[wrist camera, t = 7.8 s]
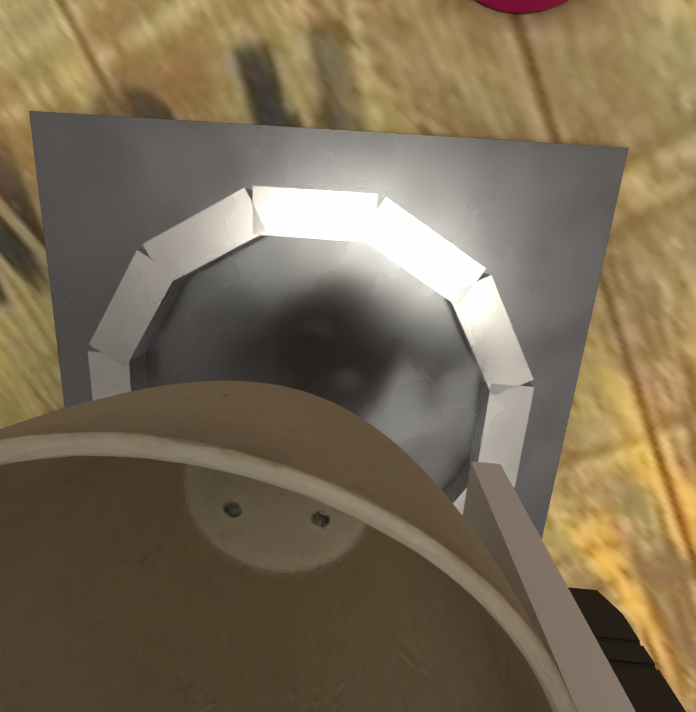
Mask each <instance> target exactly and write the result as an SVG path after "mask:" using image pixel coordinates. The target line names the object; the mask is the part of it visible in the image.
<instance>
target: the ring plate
mask: <svg viewBox="0 0 696 712" xmlns="http://www.w3.org/2000/svg"><path fill="white" fill-rule="evenodd" d="M29 113H30V122H31V130H32V138H33V147H34V155H35V163H36V171H37V180H38V188H39V196H40V205H41V213H42V221H43V230H44V238H45V246H46V255H47V263H48V271H49V280H50V288H51V296H52V305H53V313H54V321H55V329H56V338H57V346H58V354H59V363H60V371H61V379H62V388H63V396H64V404H65V408H68V407H71V406H74V405H77V404H81V403H85V402H89V401H93V400H97V399H101V398H105V397H109V396H113V395H118V394H122V393H127V392H131V391H136V390H141V389H146V388H152V387H158V386H164V385H173V384H182V383H192V382H203V381H248V382H258V383H266V384H274V385H280V386H285V387H289V388H293V389H297V390H301V391H304V392H307V393H310V394H313V395H316V396H318V397H321V398H323V399H326V400H328V401H331V402H333V403H335V404H337V405H339V406H341V407H343V408H345V409H347V410H349V411H351V412H352V413H354V414H356V415H357V416H359V417H360V418H362V419H364V420H365V421H367V422H368V423H370V424H371V425H373V426H374V427H375V428H377V429H378V430H380V431H381V432H382V433H384V434H385V435H386V436H387V437H389V438H390V439H391V440H392V441H393V442H395V443H396V444H397V445H398V446H399V447H400V448H402V449H403V450H404V451H405V452H406V453H407V454H408V455H409V456H410V457H411V458H412V459H413V460H414V461H415V462H416V463H417V464H418V465H419V466H420V467H421V468H422V469H423V470H424V471H425V472H426V473H427V474H428V475H429V476H430V477H431V478H432V479H433V480H434V481H435V483H436V484H437V485H438V486H439V487H440V489H441V490H442V491H443V492H444V493H445V495H446V496H447V497H448V498H449V499H450V501H451V502H452V503H453V504H454V506H455V507H456V508H457V509H458V511H459V512H460V513H461V515H463V509H464V503H465V496H466V490H467V484H468V478H469V471H470V465H471V461H472V462H484V463H495V464H501V466H502V468H503V470H504V471H505V473H506V475H507V477H508V479H509V481H510V482H511V484H512V486H513V488H514V490H515V492H516V493H517V495H518V497H519V499H520V501H521V503H522V504H523V506H524V508H525V510H526V512H527V514H528V515H529V517H530V519H531V521H532V523H533V525H534V526H535V528H536V530H537V532H538V534H539V535H540V537H541V539H542V535H543V531H544V526H545V522H546V517H547V513H548V508H549V504H550V499H551V495H552V490H553V486H554V481H555V477H556V472H557V468H558V463H559V459H560V454H561V450H562V445H563V441H564V436H565V432H566V427H567V423H568V418H569V414H570V409H571V405H572V400H573V396H574V391H575V387H576V382H577V378H578V373H579V369H580V364H581V360H582V355H583V351H584V346H585V342H586V337H587V333H588V328H589V324H590V319H591V315H592V310H593V306H594V301H595V297H596V292H597V288H598V283H599V279H600V274H601V270H602V265H603V261H604V256H605V252H606V247H607V243H608V238H609V234H610V229H611V225H612V220H613V216H614V211H615V207H616V202H617V198H618V193H619V189H620V184H621V180H622V175H623V171H624V166H625V162H626V157H627V153H628V148H624V147H608V146H591V145H575V144H559V143H543V142H526V141H510V140H494V139H478V138H461V137H445V136H429V135H413V134H396V133H380V132H364V131H347V130H331V129H315V128H299V127H282V126H266V125H250V124H234V123H217V122H201V121H185V120H168V119H152V118H136V117H120V116H103V115H87V114H71V113H55V112H38V111H29ZM240 511H241V510H240V509H234V510H232V511H231V514H232V515H237V514H239V513H240ZM319 513H321V514H322V515H325V516H328V515H326V514H325V513H323V512H319Z"/></svg>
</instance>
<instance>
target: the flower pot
mask: <svg viewBox="0 0 696 712" xmlns="http://www.w3.org/2000/svg"><path fill="white" fill-rule="evenodd" d="M234 509H240V510H241V511H240V513H239V514H237V515H232V514H231V511H232V510H234ZM319 512H323V513H325V514H326V515H328V516H325V515H322V514H321V513H319ZM0 712H577V711H576V709H575V706H574V704H573V701H572V699H571V696H570V693H569V691H568V688H567V686H566V684H565V682H564V680H563V679H562V677H561V675H560V673H559V671H558V669H557V667H556V665H555V663H554V661H553V659H552V658H551V656H550V654H549V652H548V650H547V648H546V647H545V645H544V643H543V641H542V639H541V637H540V636H539V634H538V632H537V630H536V629H535V627H534V625H533V624H532V622H531V620H530V618H529V617H528V615H527V613H526V611H525V610H524V608H523V606H522V604H521V603H520V601H519V599H518V597H517V596H516V594H515V592H514V591H513V589H512V587H511V586H510V584H509V583H508V581H507V579H506V578H505V576H504V574H503V573H502V571H501V570H500V568H499V567H498V565H497V564H496V562H495V561H494V559H493V558H492V556H491V555H490V553H489V552H488V550H487V549H486V547H485V546H484V545H483V543H482V542H481V540H480V539H479V537H478V536H477V535H476V533H475V532H474V530H473V529H472V528H471V526H470V525H469V524H468V522H467V521H466V520H465V518H464V517H463V516H462V515H461V513H460V512H459V511H458V509H457V508H456V507H455V506H454V504H453V503H452V502H451V501H450V499H449V498H448V497H447V496H446V495H445V493H444V492H443V491H442V490H441V489H440V487H439V486H438V485H437V484H436V483H435V481H434V480H433V479H432V478H431V477H430V476H429V475H428V474H427V473H426V472H425V471H424V470H423V469H422V468H421V467H420V466H419V465H418V464H417V463H416V462H415V461H414V460H413V459H412V458H411V457H410V456H409V455H408V454H407V453H406V452H405V451H404V450H403V449H402V448H400V447H399V446H398V445H397V444H396V443H395V442H393V441H392V440H391V439H390V438H389V437H387V436H386V435H385V434H384V433H382V432H381V431H380V430H378V429H377V428H375V427H374V426H373V425H371V424H370V423H368V422H367V421H365V420H364V419H362V418H360V417H359V416H357V415H356V414H354V413H352V412H351V411H349V410H347V409H345V408H343V407H341V406H339V405H337V404H335V403H333V402H331V401H328V400H326V399H323V398H321V397H318V396H316V395H313V394H310V393H307V392H304V391H301V390H297V389H293V388H289V387H285V386H280V385H274V384H266V383H258V382H248V381H203V382H192V383H182V384H173V385H164V386H158V387H152V388H146V389H141V390H136V391H131V392H127V393H122V394H118V395H113V396H109V397H105V398H101V399H97V400H93V401H89V402H85V403H81V404H77V405H74V406H71V407H68V408H64V409H61V410H58V411H54V412H51V413H48V414H45V415H42V416H39V417H36V418H33V419H30V420H27V421H24V422H21V423H18V424H15V425H12V426H9V427H6V428H3V429H0Z"/></svg>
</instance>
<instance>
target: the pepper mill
mask: <svg viewBox="0 0 696 712" xmlns="http://www.w3.org/2000/svg"><path fill="white" fill-rule="evenodd" d="M477 1H479V2H481V3H483V4H485V5H486V6H489V7H492V8H495V9H498V10H501V11H505V12H513V13H529V12H536V11H542V10H547V9H549V8H552V7H554V6H557V5H560V4H562V3H565V2H566V1H568V0H477Z"/></svg>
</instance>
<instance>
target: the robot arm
mask: <svg viewBox="0 0 696 712" xmlns="http://www.w3.org/2000/svg"><path fill="white" fill-rule="evenodd" d="M462 516H463V517H464V518H465V520H466V521H467V522H468V524H469V525H470V526H471V528H472V529H473V530H474V532H475V533H476V535H477V536H478V537H479V539H480V540H481V542H482V543H483V545H484V546H485V547H486V549H487V550H488V552H489V553H490V555H491V556H492V558H493V559H494V561H495V562H496V564H497V565H498V567H499V568H500V570H501V571H502V573H503V574H504V576H505V578H506V579H507V581H508V583H509V584H510V586H511V587H512V589H513V591H514V592H515V594H516V596H517V597H518V599H519V601H520V603H521V604H522V606H523V608H524V610H525V611H526V613H527V615H528V617H529V618H530V620H531V622H532V624H533V625H534V627H535V629H536V630H537V632H538V634H539V636H540V637H541V639H542V641H543V643H544V645H545V647H546V648H547V650H548V652H549V654H550V656H551V658H552V659H553V661H554V663H555V665H556V667H557V669H558V671H559V673H560V675H561V677H562V679H563V680H564V682H565V684H566V686H567V688H568V691H569V693H570V696H571V699H572V701H573V704H574V706H575V709H576V711H577V712H686V711H685V709H684V708H683V706H682V705H681V703H680V702H679V700H678V699H677V697H676V696H675V694H674V693H673V691H672V689H671V688H670V686H669V685H668V683H667V682H666V680H665V679H664V677H663V676H662V674H661V673H660V671H659V670H656V668H655V663H654V662H653V660H652V659H651V657H650V656H649V654H648V653H647V651H646V650H645V648H644V646H641V645H640V640H639V639H638V637H637V636H636V634H635V633H634V631H633V630H632V628H631V626H630V625H629V623H628V622H627V620H626V619H625V617H624V616H623V614H622V613H621V612H620V611H619V610H618V609H617V608H616V607H614V606H613V605H612V604H611V603H610V602H609V601H608V600H607V599H606V598H605V597H604V596H602V595H601V594H600V593H599V592H598V591H597V590H589V589H579V588H568V587H567V585H566V583H565V581H564V579H563V578H562V576H561V574H560V572H559V570H558V568H557V567H556V565H555V563H554V561H553V559H552V557H551V556H550V554H549V552H548V550H547V548H546V546H545V545H544V543H543V541H542V539H541V537H540V535H539V534H538V532H537V530H536V528H535V526H534V525H533V523H532V521H531V519H530V517H529V515H528V514H527V512H526V510H525V508H524V506H523V504H522V503H521V501H520V499H519V497H518V495H517V493H516V492H515V490H514V488H513V486H512V484H511V482H510V481H509V479H508V477H507V475H506V473H505V471H504V470H503V468H502V466H501V464H495V463H484V462H472V461H471V465H470V471H469V478H468V484H467V490H466V496H465V503H464V509H463V515H462Z"/></svg>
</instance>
